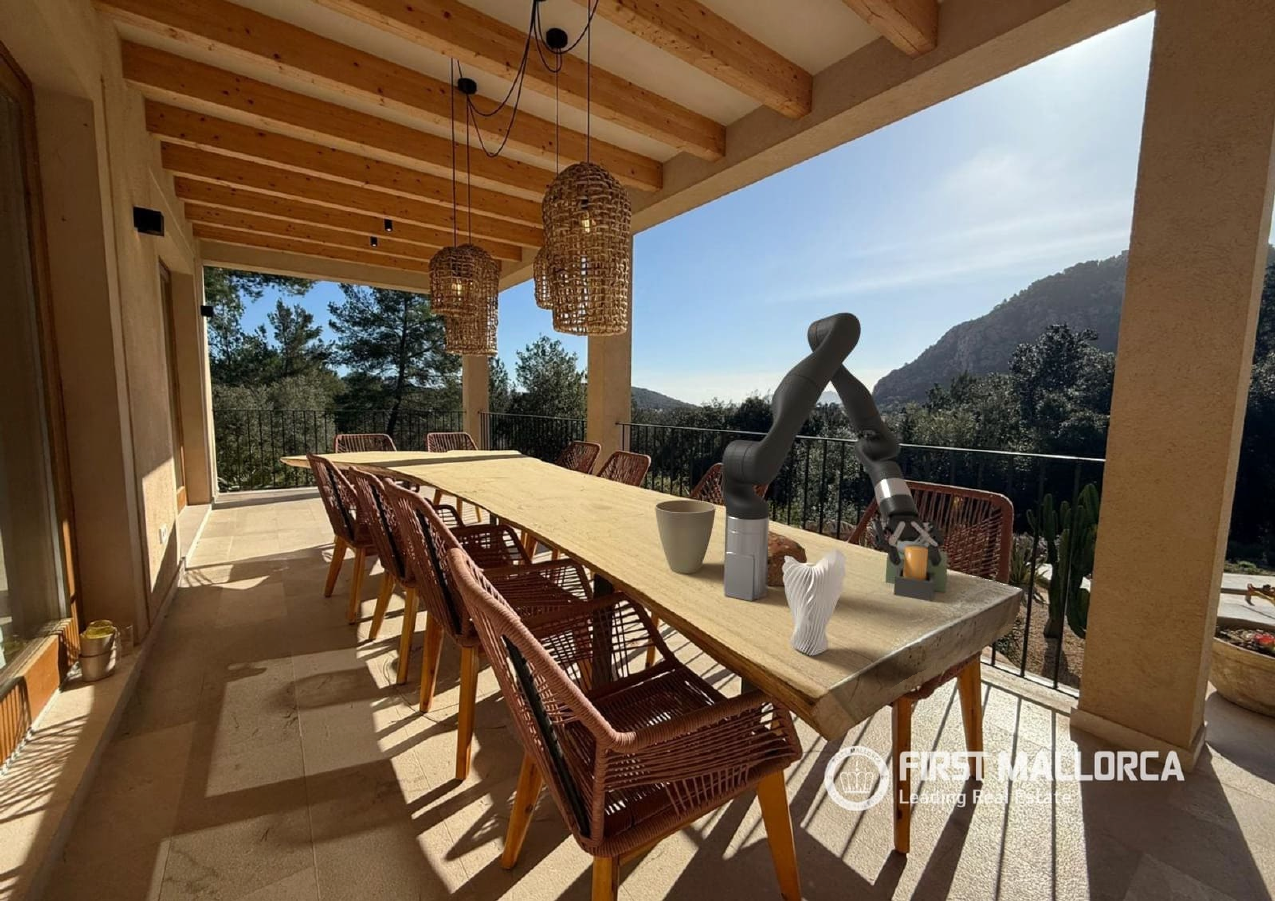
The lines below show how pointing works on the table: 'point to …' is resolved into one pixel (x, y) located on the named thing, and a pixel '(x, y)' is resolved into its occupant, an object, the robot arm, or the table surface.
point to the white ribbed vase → (813, 598)
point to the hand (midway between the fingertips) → (917, 564)
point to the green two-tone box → (915, 586)
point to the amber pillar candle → (915, 562)
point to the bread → (781, 556)
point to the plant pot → (685, 532)
